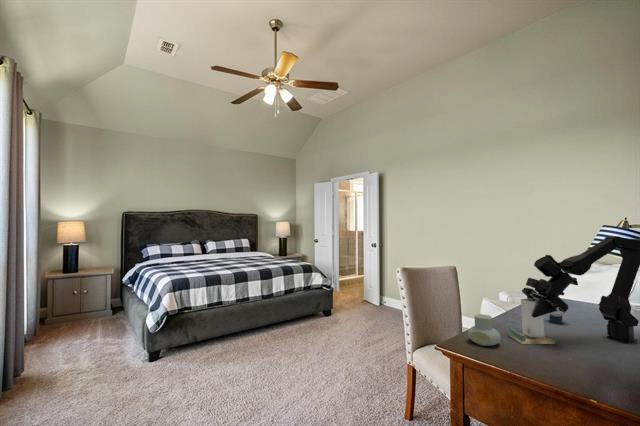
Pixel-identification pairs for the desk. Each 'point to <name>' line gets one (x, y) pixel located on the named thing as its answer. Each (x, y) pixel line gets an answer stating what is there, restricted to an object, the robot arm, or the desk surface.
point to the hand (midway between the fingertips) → (528, 314)
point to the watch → (556, 318)
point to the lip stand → (528, 338)
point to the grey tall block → (531, 318)
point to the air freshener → (484, 331)
